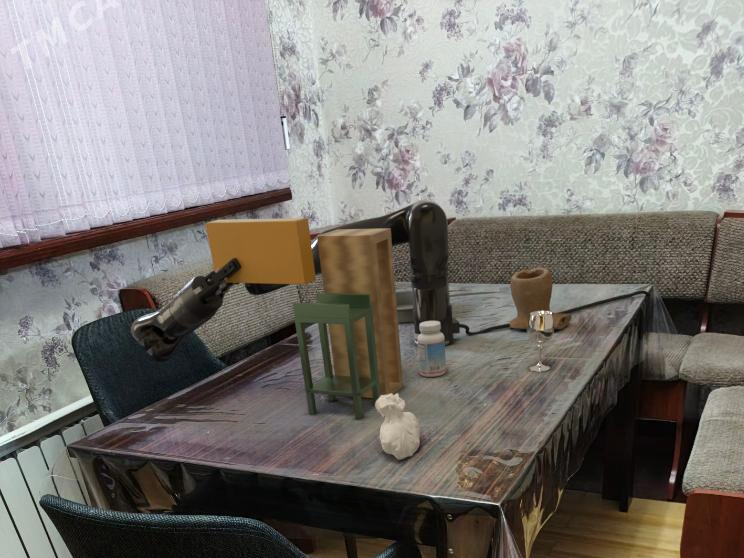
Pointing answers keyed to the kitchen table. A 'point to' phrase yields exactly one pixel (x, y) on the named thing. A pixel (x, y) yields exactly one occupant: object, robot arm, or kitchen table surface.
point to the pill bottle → (431, 349)
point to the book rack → (329, 312)
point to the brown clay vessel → (533, 297)
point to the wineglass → (540, 333)
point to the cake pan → (404, 306)
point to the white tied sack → (397, 427)
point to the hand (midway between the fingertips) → (244, 260)
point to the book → (263, 249)
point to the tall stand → (375, 277)
